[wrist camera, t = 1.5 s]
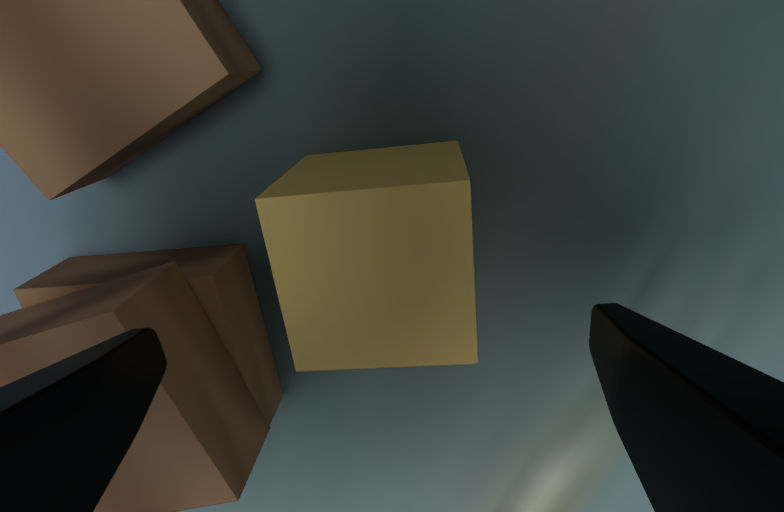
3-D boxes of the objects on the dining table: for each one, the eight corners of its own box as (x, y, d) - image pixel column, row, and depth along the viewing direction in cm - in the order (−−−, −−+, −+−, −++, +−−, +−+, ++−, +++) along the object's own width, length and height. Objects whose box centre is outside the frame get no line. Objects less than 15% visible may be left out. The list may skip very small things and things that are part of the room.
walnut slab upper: (174, 260, 14) (112, 311, 11) (270, 427, 17) (238, 500, 14) (2, 314, 16) (-89, 370, 13) (114, 459, 18) (58, 532, 15)
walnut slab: (111, -175, 12) (20, -239, 10) (266, 69, 14) (228, 73, 12) (-47, -20, 14) (-161, -36, 11) (112, 175, 16) (49, 200, 14)
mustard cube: (457, 139, 15) (469, 179, 10) (464, 278, 17) (478, 363, 12) (306, 154, 15) (254, 198, 11) (331, 286, 17) (296, 371, 13)
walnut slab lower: (247, 239, 17) (212, 276, 14) (285, 388, 20) (262, 441, 17) (76, 253, 18) (13, 289, 15) (136, 393, 21) (92, 446, 18)
